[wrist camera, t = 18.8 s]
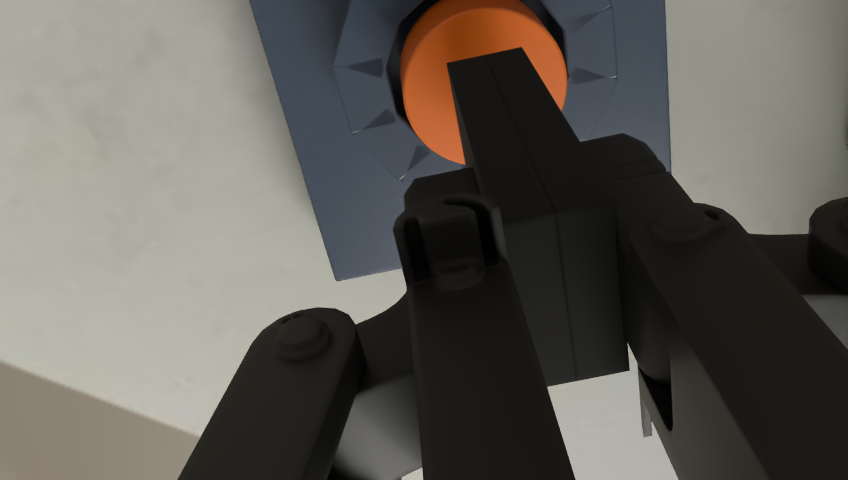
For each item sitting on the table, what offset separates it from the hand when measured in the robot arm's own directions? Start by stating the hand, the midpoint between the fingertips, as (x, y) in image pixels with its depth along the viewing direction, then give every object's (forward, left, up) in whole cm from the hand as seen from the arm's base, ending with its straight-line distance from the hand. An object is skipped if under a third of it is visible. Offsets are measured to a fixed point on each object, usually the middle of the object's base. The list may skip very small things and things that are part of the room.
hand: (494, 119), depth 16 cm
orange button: (0, 0, -3) cm, 3 cm away
